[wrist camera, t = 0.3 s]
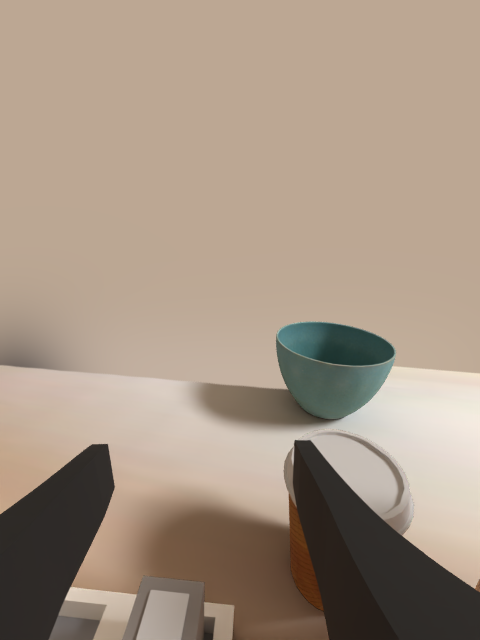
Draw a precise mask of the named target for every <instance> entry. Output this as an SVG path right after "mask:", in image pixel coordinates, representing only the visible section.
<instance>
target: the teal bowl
mask: <svg viewBox="0 0 480 640" xmlns="http://www.w3.org/2000/svg"><path fill="white" fill-rule="evenodd" d="M276 347H277V357H278V362H279V366H280V370H281V373H282V376H283V379H284V381H285V384H286V386H287V388H288V389H289V391H290V393H291V394H292V396H293V397H294V398H295V400H296V401H297V402H298V404H299V405H300V406H301V407H302V408H303V409H304V410H305V411H306V412H308V413H310V414H312V415H314V416H316V417H319V418H324V419H339V418H343V417H345V416H348V415H349V414H351V413H353V412H355V411H356V410H358V409H359V408H361V407H362V406H364V405H365V404H366V403H367V402H368V401H369V400H370V399H371V398H372V397H373V396H374V395H375V394H376V393H377V392H378V390H379V389H380V388H381V386H382V385H383V383H384V382H385V380H386V378H387V376H388V374H389V372H390V370H391V368H392V366H393V363H394V360H395V356H396V350H395V348H394V346H392V344H391V343H389V342H388V341H387V340H385V339H384V338H382V337H380V336H378V335H376V334H374V333H371V332H368V331H366V330H362V329H359V328H355V327H351V326H346V325H342V324H336V323H328V322H300V323H294V324H289V325H286V326H284V327H282V328H281V329H279V331H278V332H277V336H276Z"/></svg>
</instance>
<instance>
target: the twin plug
mask: <svg viewBox="0 0 480 640" xmlns="http://www.w3.org/2000/svg"><path fill="white" fill-rule="evenodd" d="M204 585H205V582H198V581H189V580H180V579H170V578H161V577H152V576H143V578H142V581H141V584H140V587H139V590H138V593H137V596H136V599H135V602H134V605H133V608H132V611H131V614H130V617H129V620H128V623H127V626H126V629H125V632H124V636H123V639H122V640H204Z"/></svg>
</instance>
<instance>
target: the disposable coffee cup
mask: <svg viewBox="0 0 480 640" xmlns="http://www.w3.org/2000/svg"><path fill="white" fill-rule="evenodd" d="M299 440H311V441H312V442H313V443H314V445H315V446H316V447H317V449H318V450H319V451H320V452H321V454H322V455H323V456H324V457H325V459H326V460H327V461H328V462H329V463H330V465H331V466H332V467H333V468H334V469H335V471H336V472H337V473H338V474H339V475H340V476H341V477H342V479H343V480H344V481H345V482H346V483H347V484H348V485H349V486H350V487H351V488H352V490H353V491H354V492H355V493H356V494H357V495H358V496H359V497H360V498H361V499H362V500H363V501H364V502H365V503H366V504H367V505H368V506H369V507H370V508H371V509H372V510H373V511H374V512H375V513H376V514H377V515H379V516H380V517H381V518H382V519H383V520H384V521H385V522H386V523H387V524H389V525H390V526H391V527H392V528H393V529H394V530H395V531H397V532H398V533H399V534H400V535H403V534H404V533H405V532H406V530H407V529H408V528H409V526H410V524H411V522H412V519H413V515H414V503H413V499H412V495H411V492H410V486H409V482H408V479H407V476H406V474H405V473H404V471H403V469H402V468H401V466H400V465H399V464H398V462H397V461H396V460H395V459H394V458H393V457H392V456H391V455H390V454H389V453H388V452H387V451H385V450H384V449H383V448H381V447H380V446H378V445H377V444H375V443H374V442H372V441H370V440H368V439H366V438H364V437H362V436H359V435H357V434H353V433H350V432H346V431H342V430H335V429H322V430H316V431H312V432H310V433H307V434H305V435H304V436H302V437H301V438H300V439H299ZM293 463H294V447H293V448H292V449H291V450H290V452H289V453H288V455H287V457H286V460H285V463H284V479H285V483H286V487H287V490H288V492H289V521H290V557H291V572H292V575H293V579H294V581H295V583H296V586H297V588H298V589H299V590H300V592H301V593H302V595H303V596H304V597H305V598H306V599H307V600H308V602H309V603H311V604H312V605H313V606H315V607H316V608H318V609H320V610H322V611H324V609H323V605H322V600H321V595H320V591H319V587H318V583H317V579H316V576H315V572H314V569H313V565H312V562H311V558H310V555H309V551H308V548H307V544H306V541H305V537H304V533H303V530H302V526H301V523H300V519H299V515H298V512H297V506H296V501H295V495H294V489H293Z"/></svg>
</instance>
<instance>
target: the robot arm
mask: <svg viewBox="0 0 480 640" xmlns="http://www.w3.org/2000/svg"><path fill="white" fill-rule="evenodd" d="M114 488H115V486H114V480H113V474H112V467H111V461H110V455H109V449H108V444H92V445H91V446H89V447H88V448H86V449H85V450H84V451H83V452H81V453H80V454H79V455H78V456H76V457H75V458H74V459H73V460H71V461H70V462H69V463H68V464H66V465H65V466H64V467H63V468H61V469H60V470H59V471H58V472H56V473H55V474H54V475H52V476H51V477H50V478H49V479H47V480H46V481H45V482H44V483H42V484H41V485H40V486H38V487H37V488H36V489H34V490H33V491H32V492H30V493H29V494H28V495H26V496H25V497H24V498H22V499H21V500H20V501H18V502H17V503H15V504H14V505H13V506H11V507H10V508H9V509H7V510H6V511H4V512H3V513H2V514H0V640H49V638H50V635H51V633H52V630H53V627H54V625H55V622H56V620H57V617H58V615H59V612H60V610H61V607H62V605H63V602H64V600H65V598H66V596H67V594H68V591H69V589H70V587H71V585H72V583H73V581H74V579H75V577H76V575H77V572H78V570H79V568H80V566H81V564H82V562H83V560H84V558H85V556H86V554H87V552H88V550H89V548H90V546H91V544H92V542H93V540H94V537H95V535H96V533H97V531H98V529H99V527H100V525H101V523H102V521H103V518H104V516H105V514H106V511H107V508H108V505H109V503H110V500H111V497H112V494H113V491H114ZM293 489H294V495H295V501H296V506H297V512H298V515H299V519H300V523H301V526H302V530H303V533H304V537H305V541H306V544H307V548H308V551H309V555H310V558H311V562H312V565H313V569H314V572H315V576H316V579H317V583H318V587H319V591H320V595H321V600H322V605H323V609H324V614H325V619H326V624H327V629H328V634H329V639H330V640H480V592H479V591H477V590H475V589H474V588H472V587H471V586H469V585H468V584H466V583H465V582H463V581H462V580H461V579H459V578H458V577H456V576H455V575H453V574H452V573H450V572H449V571H448V570H446V569H445V568H443V567H442V566H441V565H439V564H438V563H436V562H435V561H434V560H432V559H431V558H430V557H428V556H427V555H426V554H424V553H423V552H422V551H421V550H419V549H418V548H417V547H415V546H414V545H413V544H412V543H410V542H409V541H408V540H406V539H405V538H404V537H403V536H402V535H400V534H399V533H398V532H397V531H395V530H394V529H393V528H392V527H391V526H390V525H389V524H387V523H386V522H385V521H384V520H383V519H382V518H381V517H380V516H379V515H377V514H376V513H375V512H374V511H373V510H372V509H371V508H370V507H369V506H368V505H367V504H366V503H365V502H364V501H363V500H362V499H361V498H360V497H359V496H358V495H357V494H356V493H355V492H354V491H353V490H352V488H351V487H350V486H349V485H348V484H347V483H346V482H345V481H344V480H343V479H342V477H341V476H340V475H339V474H338V473H337V472H336V471H335V469H334V468H333V467H332V466H331V465H330V463H329V462H328V461H327V460H326V459H325V457H324V456H323V455H322V454H321V452H320V451H319V450H318V449H317V447H316V446H315V445H314V443H313V442H312V441H311V440H295V442H294V463H293Z"/></svg>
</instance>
